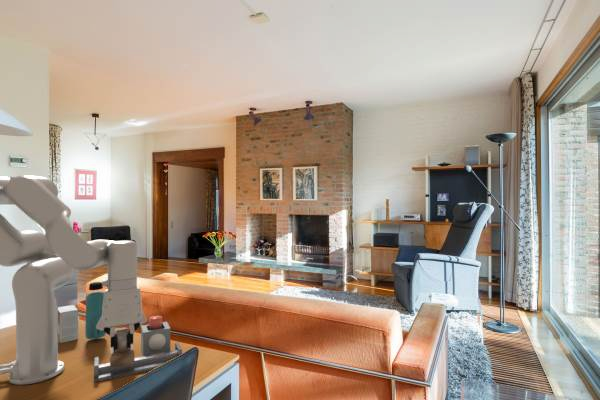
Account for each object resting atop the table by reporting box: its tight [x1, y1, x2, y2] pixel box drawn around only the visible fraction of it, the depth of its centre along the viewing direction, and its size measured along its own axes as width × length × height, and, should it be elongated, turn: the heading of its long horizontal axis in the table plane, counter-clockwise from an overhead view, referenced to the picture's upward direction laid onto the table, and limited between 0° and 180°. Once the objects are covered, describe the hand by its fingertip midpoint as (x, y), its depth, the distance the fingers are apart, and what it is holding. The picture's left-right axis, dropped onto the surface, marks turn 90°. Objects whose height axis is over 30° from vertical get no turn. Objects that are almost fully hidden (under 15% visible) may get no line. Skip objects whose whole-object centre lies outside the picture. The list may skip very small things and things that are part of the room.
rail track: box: [93, 342, 183, 383], centre depth 105 cm, size 23×8×4 cm, turn 119°
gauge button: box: [148, 315, 163, 329], centre depth 115 cm, size 4×4×3 cm
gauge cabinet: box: [140, 321, 171, 357], centre depth 115 cm, size 8×7×8 cm
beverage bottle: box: [84, 281, 107, 340], centre depth 125 cm, size 6×7×20 cm
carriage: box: [109, 327, 135, 368], centre depth 103 cm, size 6×7×9 cm
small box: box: [58, 304, 79, 344], centre depth 126 cm, size 8×6×10 cm
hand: (121, 347), depth 103 cm, fingers closed on carriage, 3 cm apart
